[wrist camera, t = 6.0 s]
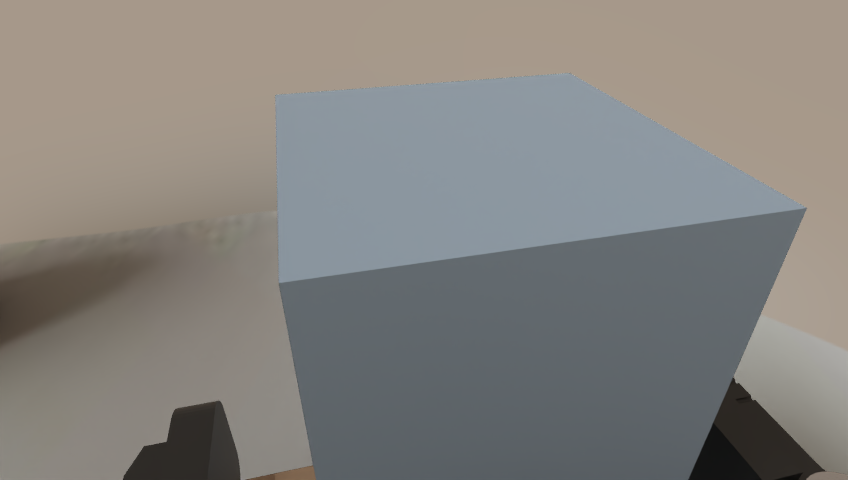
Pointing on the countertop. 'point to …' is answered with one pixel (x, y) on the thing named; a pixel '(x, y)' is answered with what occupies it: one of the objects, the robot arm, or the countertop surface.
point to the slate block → (513, 281)
